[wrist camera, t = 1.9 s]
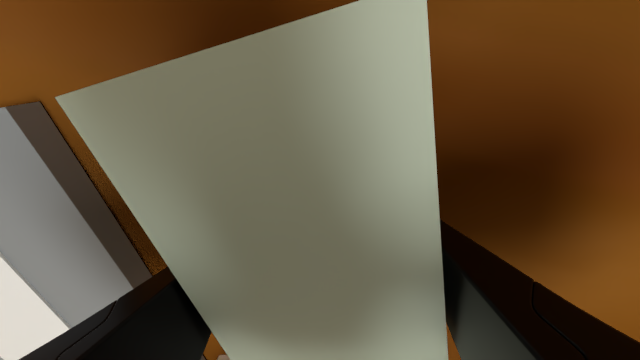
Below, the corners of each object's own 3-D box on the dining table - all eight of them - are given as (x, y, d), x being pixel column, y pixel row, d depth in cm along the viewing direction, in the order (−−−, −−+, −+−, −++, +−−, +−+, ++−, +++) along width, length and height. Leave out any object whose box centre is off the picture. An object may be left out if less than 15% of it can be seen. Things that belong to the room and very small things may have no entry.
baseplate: (221, 383, 16) (212, 404, 15) (10, 378, 20) (-8, 395, 19) (39, 101, 9) (0, 107, 8) (-257, 167, 12) (-312, 178, 11)
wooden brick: (421, 309, 12) (451, 420, 8) (290, 318, 13) (268, 417, 10) (386, 17, 7) (425, -21, 3) (182, 77, 8) (54, 97, 5)
